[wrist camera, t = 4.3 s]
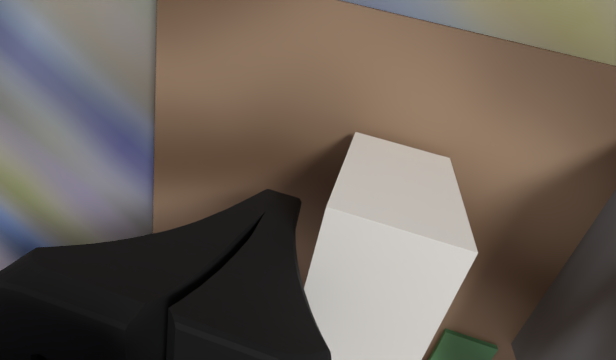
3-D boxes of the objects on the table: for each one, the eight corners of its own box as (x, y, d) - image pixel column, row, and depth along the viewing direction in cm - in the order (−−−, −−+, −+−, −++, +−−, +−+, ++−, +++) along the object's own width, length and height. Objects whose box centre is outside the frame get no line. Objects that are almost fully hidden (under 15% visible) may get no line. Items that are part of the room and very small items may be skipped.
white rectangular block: (371, 344, 15) (357, 480, 11) (302, 320, 16) (261, 443, 11) (449, 158, 11) (478, 252, 7) (355, 131, 12) (326, 206, 7)
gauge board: (540, 384, 16) (604, 563, 11) (170, 258, 19) (76, 359, 13) (765, 101, 11) (1126, 197, 5) (183, -37, 13) (24, -69, 7)
